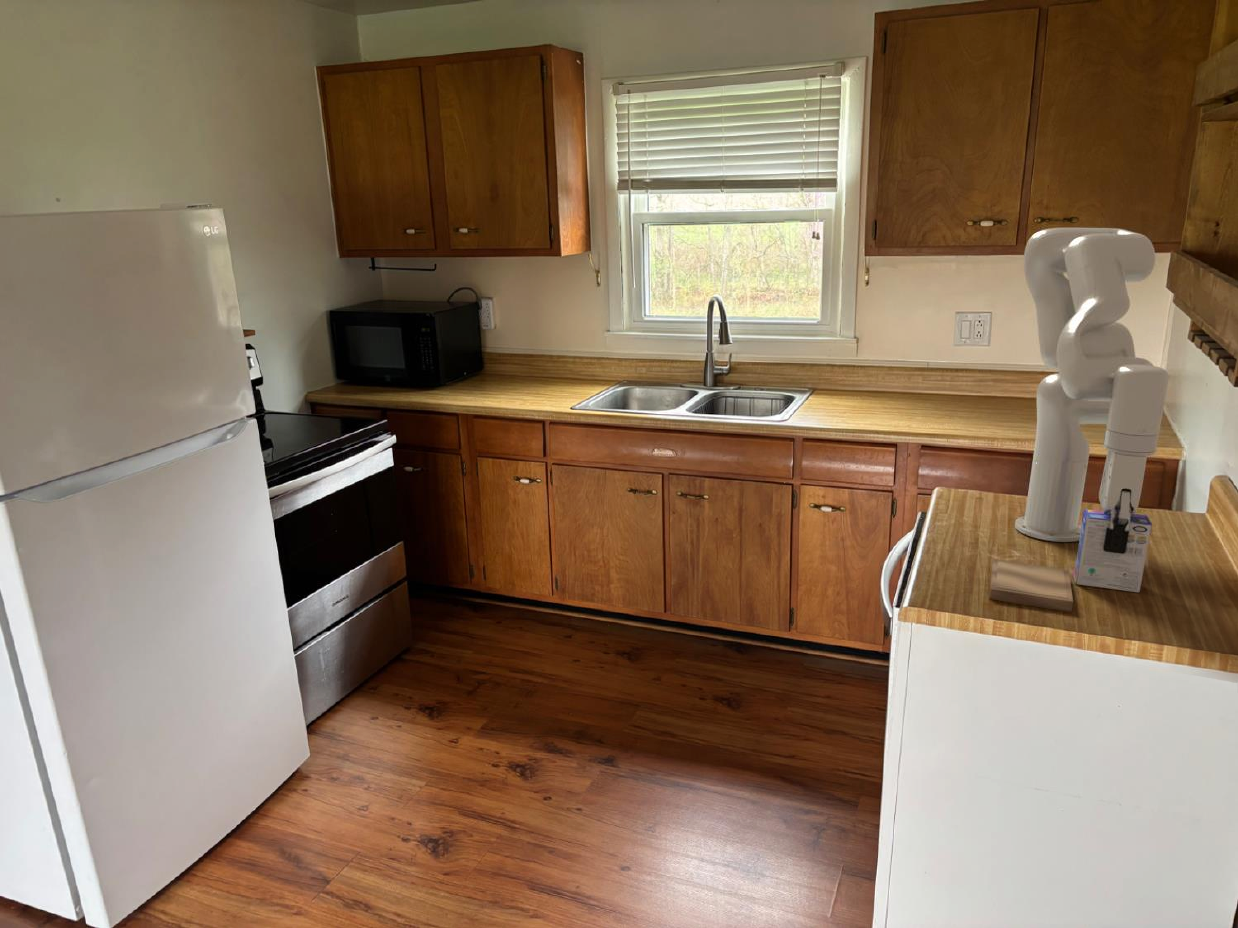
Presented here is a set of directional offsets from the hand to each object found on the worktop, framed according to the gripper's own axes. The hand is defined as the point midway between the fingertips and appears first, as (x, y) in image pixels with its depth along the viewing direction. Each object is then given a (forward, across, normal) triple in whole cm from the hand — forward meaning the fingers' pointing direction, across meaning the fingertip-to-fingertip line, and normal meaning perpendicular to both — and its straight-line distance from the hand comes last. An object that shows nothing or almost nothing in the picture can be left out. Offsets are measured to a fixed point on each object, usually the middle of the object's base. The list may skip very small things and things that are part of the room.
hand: (1112, 544), depth 149 cm
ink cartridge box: (+7, 0, 0) cm, 7 cm away
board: (+7, +8, -12) cm, 16 cm away
